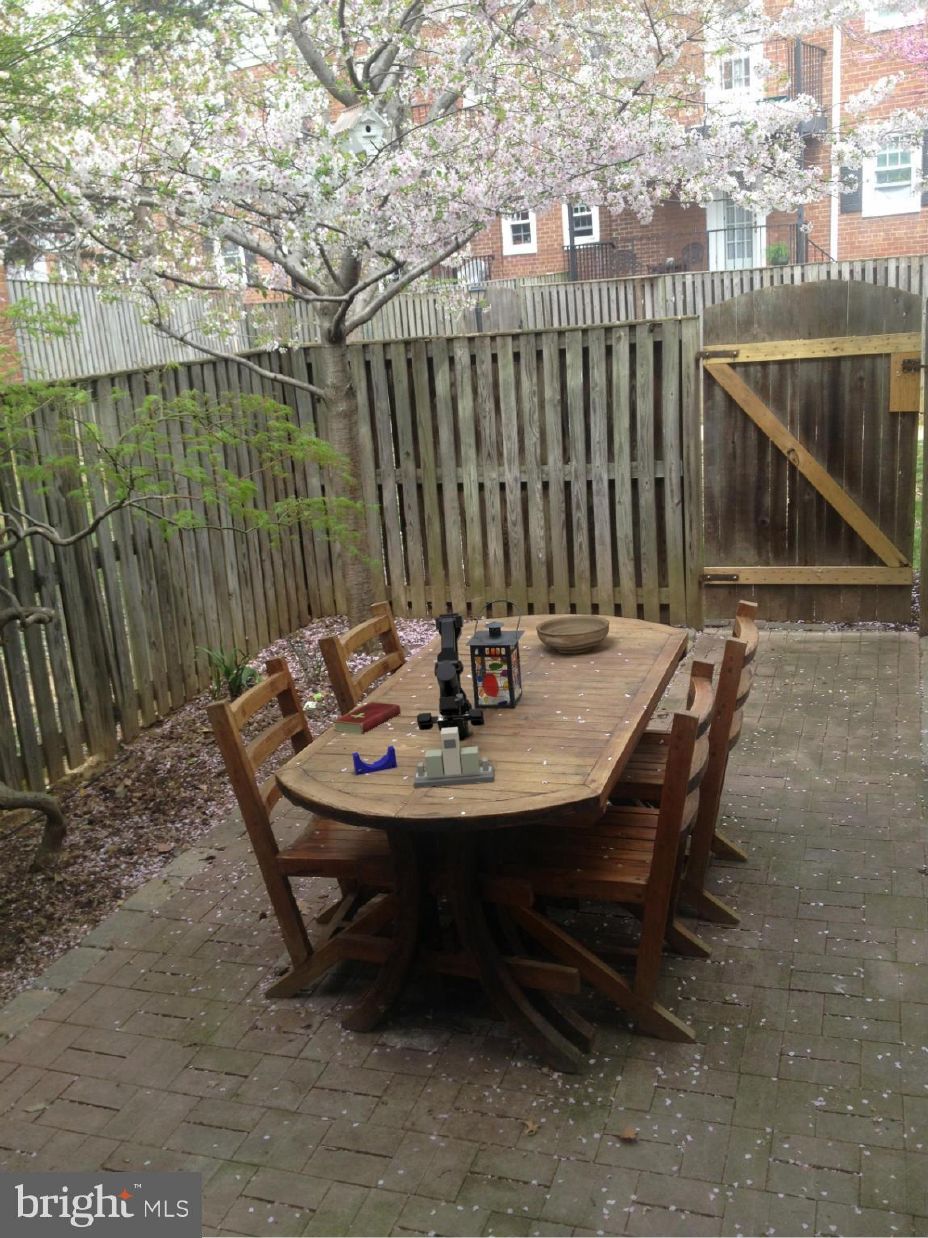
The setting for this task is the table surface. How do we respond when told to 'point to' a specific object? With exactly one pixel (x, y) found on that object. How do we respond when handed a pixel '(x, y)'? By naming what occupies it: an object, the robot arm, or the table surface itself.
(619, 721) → the table surface
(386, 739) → the table surface
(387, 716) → the hardcover book
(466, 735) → the robot arm
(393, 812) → the table surface
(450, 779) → the rail board
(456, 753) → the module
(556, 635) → the ceramic bowl
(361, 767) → the blue cradle stand
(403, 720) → the table surface
